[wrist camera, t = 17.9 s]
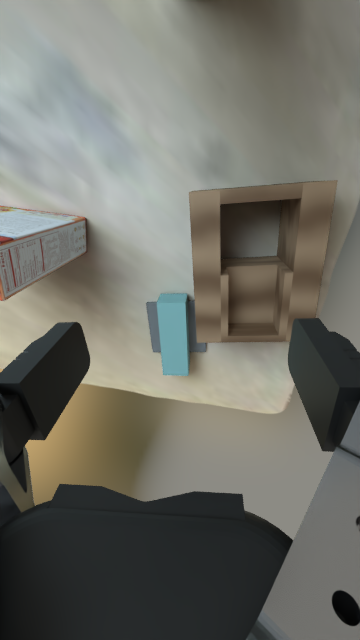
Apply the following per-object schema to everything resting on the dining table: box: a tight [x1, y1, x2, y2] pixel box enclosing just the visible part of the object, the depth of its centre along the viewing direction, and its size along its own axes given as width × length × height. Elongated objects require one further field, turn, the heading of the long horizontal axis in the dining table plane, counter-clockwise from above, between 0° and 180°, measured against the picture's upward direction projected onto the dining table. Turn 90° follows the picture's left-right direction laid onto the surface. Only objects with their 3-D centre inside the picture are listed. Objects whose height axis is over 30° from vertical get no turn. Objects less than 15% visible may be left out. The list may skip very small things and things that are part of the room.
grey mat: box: [146, 301, 206, 352], centre depth 49 cm, size 10×10×1 cm
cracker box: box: [0, 206, 87, 301], centre depth 34 cm, size 14×6×21 cm, turn 83°
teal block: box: [157, 294, 190, 376], centre depth 47 cm, size 14×4×4 cm, turn 3°
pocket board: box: [189, 180, 338, 343], centre depth 38 cm, size 20×16×9 cm
